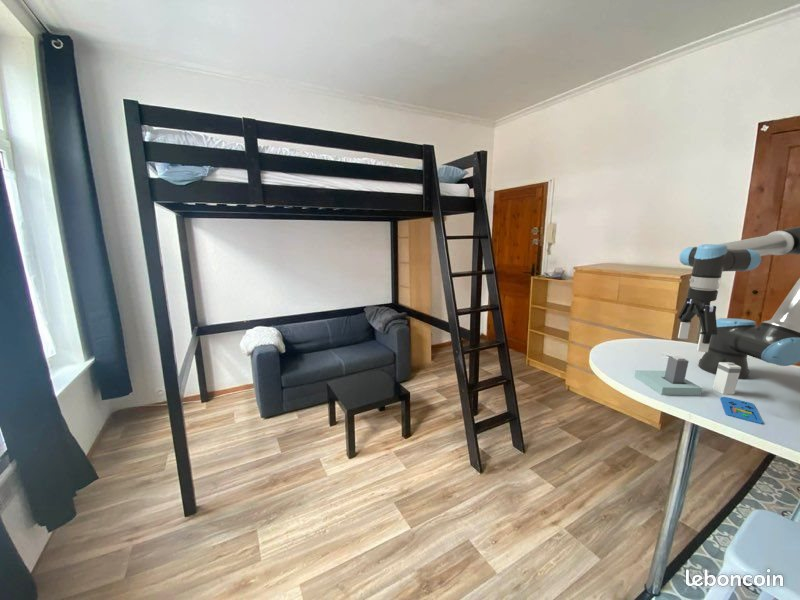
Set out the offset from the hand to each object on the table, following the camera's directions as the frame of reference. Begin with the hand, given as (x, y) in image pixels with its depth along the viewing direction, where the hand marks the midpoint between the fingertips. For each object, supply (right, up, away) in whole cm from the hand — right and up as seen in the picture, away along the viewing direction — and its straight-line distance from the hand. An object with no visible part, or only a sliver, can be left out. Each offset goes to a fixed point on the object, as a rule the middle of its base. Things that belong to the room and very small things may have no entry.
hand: (691, 344), depth 114 cm
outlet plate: (-5, -17, +6) cm, 19 cm away
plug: (-3, -17, +4) cm, 18 cm away
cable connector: (+13, -18, +1) cm, 22 cm away
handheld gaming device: (+7, -21, -10) cm, 24 cm away
